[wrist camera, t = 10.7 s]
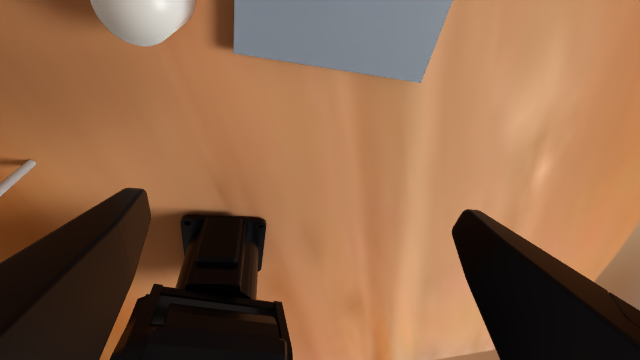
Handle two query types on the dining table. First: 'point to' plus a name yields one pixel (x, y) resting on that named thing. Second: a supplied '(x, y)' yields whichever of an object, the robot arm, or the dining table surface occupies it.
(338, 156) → the dining table surface
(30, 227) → the dining table surface
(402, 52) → the board
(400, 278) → the dining table surface
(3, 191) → the lollipop
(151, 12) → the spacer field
